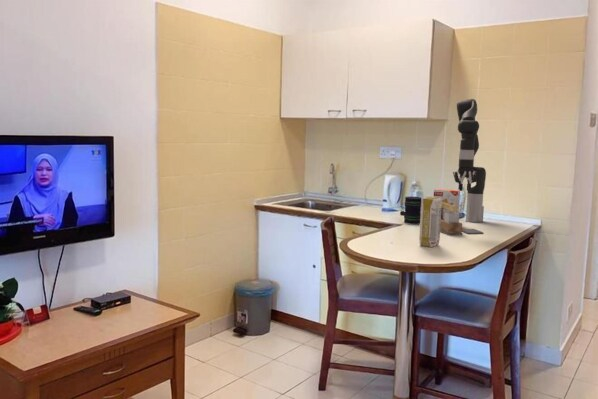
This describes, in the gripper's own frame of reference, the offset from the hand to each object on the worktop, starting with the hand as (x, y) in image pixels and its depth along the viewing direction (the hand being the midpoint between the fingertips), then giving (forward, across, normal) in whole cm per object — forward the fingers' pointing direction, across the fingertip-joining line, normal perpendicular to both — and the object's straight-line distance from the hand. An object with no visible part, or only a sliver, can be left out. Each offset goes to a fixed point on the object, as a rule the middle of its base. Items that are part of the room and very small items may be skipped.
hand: (464, 190), depth 279 cm
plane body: (+23, +6, -6) cm, 25 cm away
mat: (+23, -6, -2) cm, 24 cm away
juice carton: (+23, +31, +26) cm, 47 cm away
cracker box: (+23, -2, -24) cm, 34 cm away
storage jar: (+23, +14, -34) cm, 44 cm away
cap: (+17, +6, -1) cm, 18 cm away
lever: (+17, +6, -6) cm, 19 cm away
